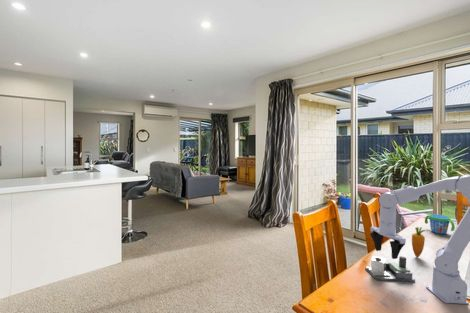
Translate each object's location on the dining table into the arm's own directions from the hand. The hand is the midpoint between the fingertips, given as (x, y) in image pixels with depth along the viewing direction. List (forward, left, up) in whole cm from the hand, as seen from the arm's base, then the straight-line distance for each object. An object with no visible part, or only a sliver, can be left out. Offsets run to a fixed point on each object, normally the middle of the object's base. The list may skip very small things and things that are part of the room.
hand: (386, 254), depth 102 cm
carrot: (+18, -25, -9) cm, 32 cm away
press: (0, -1, -9) cm, 9 cm away
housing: (0, +3, -7) cm, 8 cm away
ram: (0, -6, -7) cm, 9 cm away
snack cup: (+55, -62, -9) cm, 83 cm away
